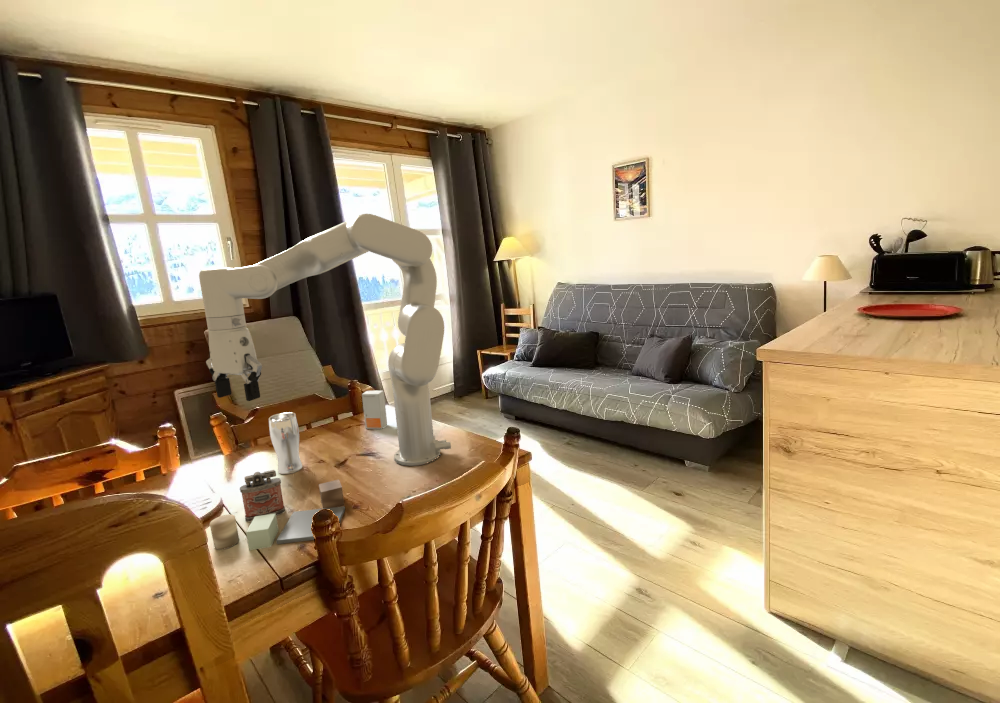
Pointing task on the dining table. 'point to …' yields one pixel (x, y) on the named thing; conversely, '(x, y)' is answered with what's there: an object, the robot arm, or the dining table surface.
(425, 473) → the dining table surface
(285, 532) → the coaster
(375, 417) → the skincare box
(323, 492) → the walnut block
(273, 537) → the sage block
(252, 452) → the dining table surface
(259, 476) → the lighter
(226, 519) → the beech cylinder
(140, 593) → the dining table surface
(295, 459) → the beer glass
